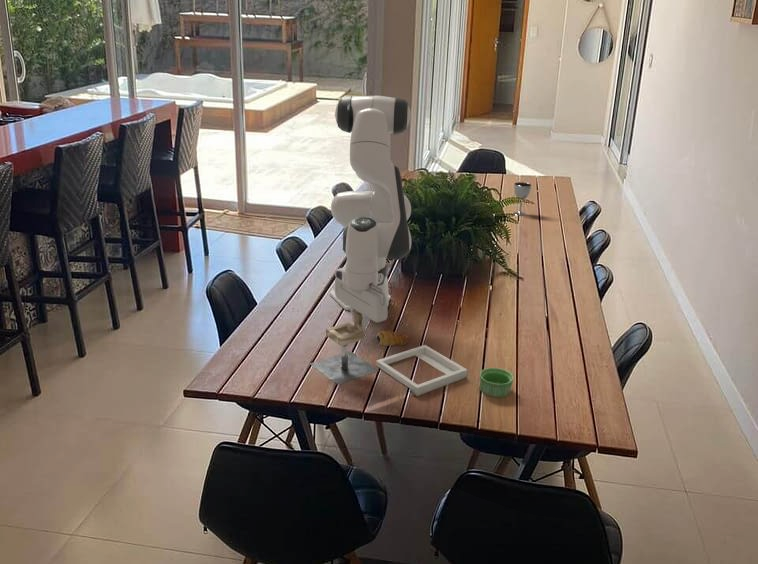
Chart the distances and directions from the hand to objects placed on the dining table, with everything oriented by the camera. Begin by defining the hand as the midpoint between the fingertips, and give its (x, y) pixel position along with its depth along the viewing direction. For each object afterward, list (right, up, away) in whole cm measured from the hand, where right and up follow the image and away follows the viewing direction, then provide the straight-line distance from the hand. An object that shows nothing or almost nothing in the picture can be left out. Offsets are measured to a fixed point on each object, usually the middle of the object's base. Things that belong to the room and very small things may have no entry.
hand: (360, 324), depth 196 cm
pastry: (+8, -7, +19) cm, 22 cm away
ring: (-3, -3, -1) cm, 5 cm away
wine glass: (+75, +45, +156) cm, 179 cm away
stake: (-4, -13, +2) cm, 14 cm away
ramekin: (+37, -18, -5) cm, 41 cm away
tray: (+17, -14, +2) cm, 22 cm away
